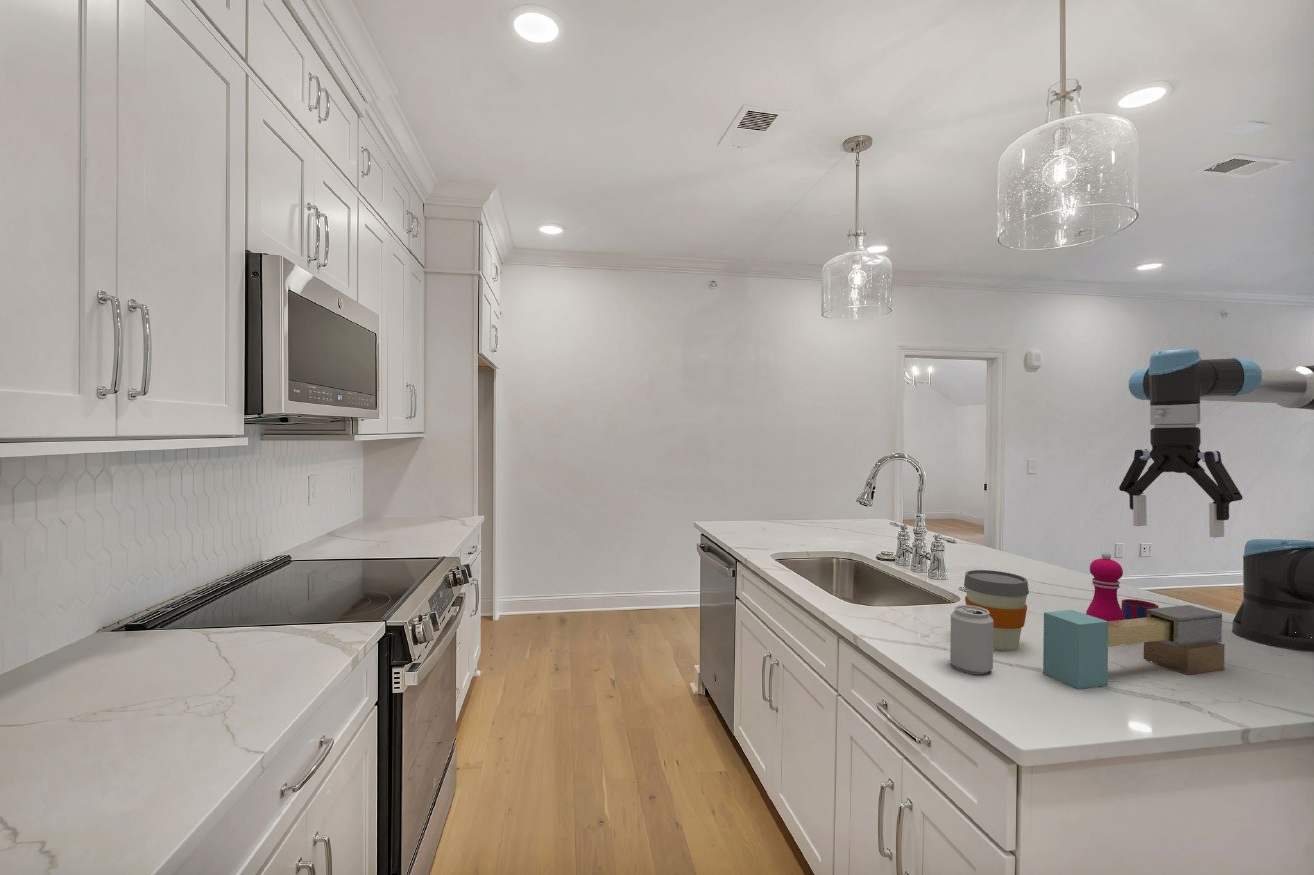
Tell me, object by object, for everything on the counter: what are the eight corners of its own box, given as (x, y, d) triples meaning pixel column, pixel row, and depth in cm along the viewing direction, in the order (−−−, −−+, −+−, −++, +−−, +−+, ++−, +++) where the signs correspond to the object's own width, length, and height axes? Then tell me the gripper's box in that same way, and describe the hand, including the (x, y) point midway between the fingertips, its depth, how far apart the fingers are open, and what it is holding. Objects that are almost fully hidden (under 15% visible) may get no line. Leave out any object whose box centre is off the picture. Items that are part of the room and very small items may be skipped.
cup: (1133, 625, 140) (1133, 597, 140) (1181, 639, 130) (1182, 610, 130) (1114, 628, 138) (1114, 600, 138) (1162, 643, 128) (1162, 613, 128)
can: (992, 679, 109) (993, 617, 109) (948, 670, 113) (949, 610, 113) (993, 665, 115) (993, 606, 115) (951, 657, 119) (952, 600, 119)
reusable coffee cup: (1038, 656, 120) (1039, 585, 120) (973, 650, 123) (974, 581, 123) (1014, 635, 132) (1015, 571, 132) (956, 630, 135) (957, 568, 135)
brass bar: (1169, 631, 118) (1170, 614, 118) (1188, 637, 114) (1189, 620, 114) (1063, 643, 111) (1064, 626, 111) (1080, 649, 107) (1081, 632, 107)
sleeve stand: (1182, 653, 122) (1182, 603, 122) (1227, 669, 114) (1228, 615, 114) (1140, 659, 119) (1140, 607, 119) (1183, 675, 111) (1184, 619, 111)
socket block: (1070, 669, 114) (1071, 609, 113) (1107, 685, 107) (1108, 621, 106) (1043, 672, 112) (1043, 612, 112) (1078, 689, 105) (1079, 624, 105)
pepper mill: (1110, 633, 134) (1112, 549, 134) (1133, 645, 127) (1134, 555, 126) (1078, 632, 135) (1079, 548, 134) (1098, 643, 127) (1100, 555, 127)
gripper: (1098, 427, 126) (1099, 522, 126) (1238, 426, 102) (1240, 543, 102) (1123, 426, 128) (1125, 520, 128) (1267, 425, 104) (1268, 540, 104)
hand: (1176, 531), depth 115 cm, fingers open, 13 cm apart
